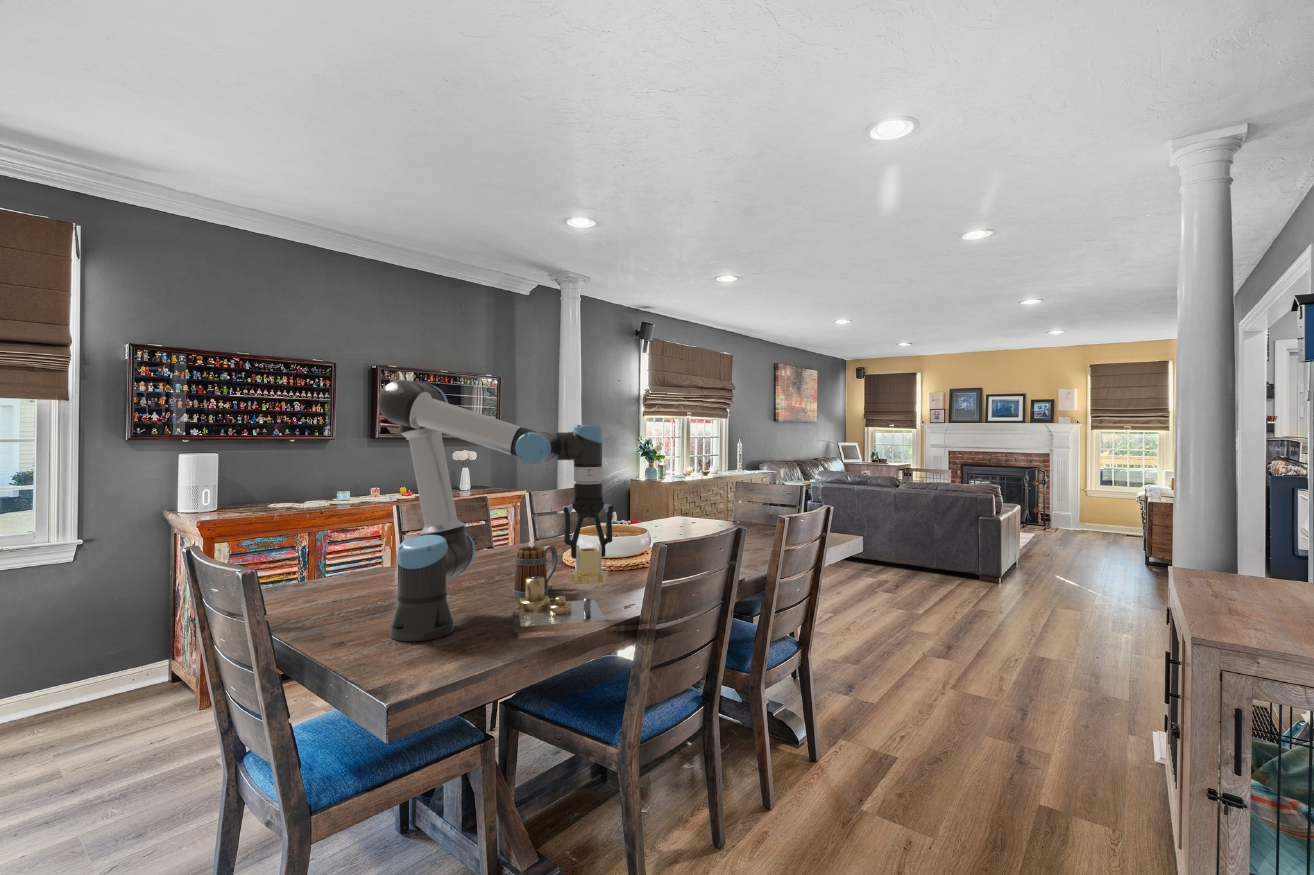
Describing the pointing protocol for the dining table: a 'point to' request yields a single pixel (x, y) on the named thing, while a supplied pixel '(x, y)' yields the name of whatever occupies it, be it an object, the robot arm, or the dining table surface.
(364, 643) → the dining table surface
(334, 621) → the dining table surface
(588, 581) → the gear
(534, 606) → the carrier
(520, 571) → the mug
